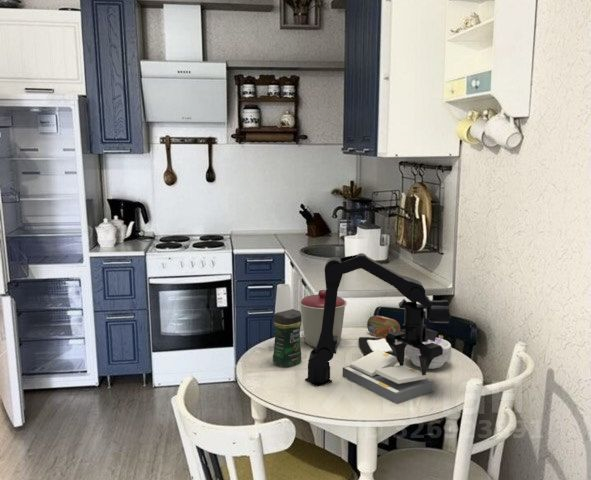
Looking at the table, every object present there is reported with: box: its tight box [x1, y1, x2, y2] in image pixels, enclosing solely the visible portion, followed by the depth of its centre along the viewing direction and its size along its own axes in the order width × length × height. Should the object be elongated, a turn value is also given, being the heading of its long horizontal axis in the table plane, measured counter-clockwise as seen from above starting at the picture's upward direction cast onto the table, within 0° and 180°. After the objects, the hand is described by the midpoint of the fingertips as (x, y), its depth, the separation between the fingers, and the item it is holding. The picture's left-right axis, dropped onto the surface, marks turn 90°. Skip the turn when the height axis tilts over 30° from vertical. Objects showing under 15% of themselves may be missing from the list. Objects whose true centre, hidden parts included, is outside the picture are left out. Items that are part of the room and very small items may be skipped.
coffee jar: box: [272, 308, 303, 368], centre depth 189 cm, size 10×8×19 cm
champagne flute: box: [274, 283, 293, 315], centre depth 203 cm, size 7×7×24 cm
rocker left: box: [350, 349, 399, 377], centre depth 177 cm, size 12×10×1 cm
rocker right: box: [375, 364, 428, 384], centre depth 167 cm, size 12×10×1 cm
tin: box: [366, 315, 402, 339], centre depth 217 cm, size 15×3×8 cm, turn 42°
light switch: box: [358, 336, 396, 357], centre depth 204 cm, size 20×3×14 cm
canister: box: [298, 289, 348, 348], centre depth 208 cm, size 18×18×21 cm
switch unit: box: [342, 364, 434, 405], centre depth 172 cm, size 15×24×4 cm, turn 35°
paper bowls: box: [405, 337, 452, 370], centre depth 189 cm, size 15×15×8 cm
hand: (412, 370), depth 170 cm, fingers open, 9 cm apart
